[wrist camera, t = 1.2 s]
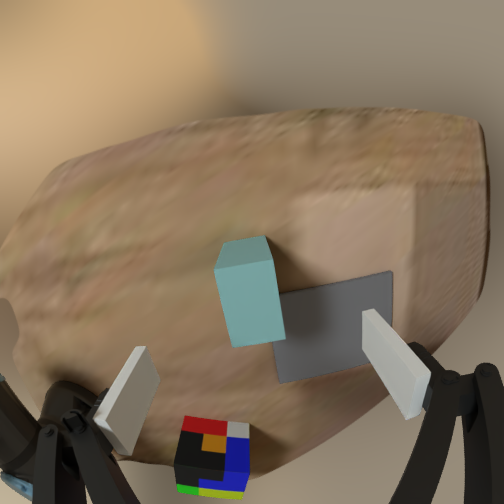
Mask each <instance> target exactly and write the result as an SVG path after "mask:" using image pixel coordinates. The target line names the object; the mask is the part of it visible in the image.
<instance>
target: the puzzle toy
mask: <svg viewBox="0 0 504 504" xmlns="http://www.w3.org/2000/svg"><path fill="white" fill-rule="evenodd" d="M174 470H175V477H176V484H177V490H178V492H181V493H186V494H193V495H200V496H207V497H215V498H226V499H240V500H241V499H242V497H243V494H244V491H245V487H246V484H247V481H248V478H249V475H250V446H249V423H239V422H228V421H219V420H211V419H204V418H197V417H191V416H185V417H184V421H183V425H182V430H181V434H180V438H179V443H178V447H177V451H176V456H175V460H174Z"/></svg>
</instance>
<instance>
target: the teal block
mask: <svg viewBox="0 0 504 504" xmlns="http://www.w3.org/2000/svg"><path fill="white" fill-rule="evenodd" d="M214 274H215V278H216V282H217V287H218V291H219V295H220V299H221V303H222V308H223V312H224V316H225V320H226V324H227V328H228V332H229V336H230V340H231V343H232V347H233V348H234V347H241V346H248V345H254V344H260V343H266V342H272V341H278V340H283V339H286V337H285V331H284V324H283V318H282V311H281V305H280V299H279V292H278V286H277V280H276V274H275V268H274V262H273V258H272V255H271V252H270V249H269V246H268V243H267V240H266V237H265V235H264V236H258V237H253V238H247V239H242V240H236V241H231V242H225V243H224V244H223V247H222V249H221V252H220V255H219V257H218V260H217V262H216V265H215V268H214Z"/></svg>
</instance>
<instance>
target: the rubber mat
mask: <svg viewBox="0 0 504 504" xmlns="http://www.w3.org/2000/svg"><path fill="white" fill-rule="evenodd" d="M279 299H280V305H281V311H282V318H283V324H284V331H285V337H286V339H283V340H278V341H272V343H273V349H274V354H275V360H276V366H277V371H278V377H279V383H280V384H281V383H286V382H292V381H297V380H302V379H307V378H312V377H316V376H321V375H325V374H329V373H333V372H337V371H341V370H345V369H349V368H353V367H357V366H360V365H364V364H367V363H371V362H370V361H369V359H368V357H367V356H366V354H365V353H364V351H363V350H362V311H366V310H370V309H375V310H376V311H377V312H378V314H379V315H380V316H381V317H382V318H383V319H384V320H385V321H386V322H387V323H388V324H389V325H390V327H391V323H392V271H386V272H381V273H377V274H373V275H368V276H364V277H359V278H355V279H350V280H346V281H341V282H336V283H332V284H327V285H322V286H317V287H312V288H307V289H302V290H297V291H291V292H286V293H281V294H279Z"/></svg>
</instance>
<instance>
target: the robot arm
mask: <svg viewBox="0 0 504 504" xmlns="http://www.w3.org/2000/svg"><path fill="white" fill-rule="evenodd" d="M362 350H363V351H364V353H365V354H366V356H367V357H368V359H369V361H370V362H371V364H372V365H373V367H374V369H375V370H376V372H377V373H378V375H379V376H380V378H381V380H382V381H383V383H384V385H385V386H386V388H387V389H388V391H389V393H390V394H391V396H392V398H393V399H394V401H395V403H396V404H397V405H398V407H399V409H400V411H401V412H402V414H403V416H404V417H405V419H406V420H408V419H411V418H413V417H416V416H418V415H420V412H421V409H422V407H423V408H424V409H425V411H426V414H425V417H424V420H423V423H422V426H421V429H420V432H419V435H418V438H417V441H416V444H415V446H414V449H413V451H412V454H411V457H410V459H409V461H408V464H407V466H406V469H405V471H404V473H403V476H402V478H401V480H400V482H399V484H398V486H397V488H396V491H395V492H394V494H393V496H392V498H391V500H390V502H389V504H431V502H432V498H433V497H434V494H435V491H436V489H437V486H438V483H439V480H440V477H441V474H442V471H443V468H444V465H445V461H446V458H447V455H448V450H449V447H450V443H451V439H452V435H453V430H454V426H455V421H456V416H462V425H463V437H464V453H465V454H464V455H465V490H464V491H465V492H464V504H504V386H503V383H502V380H501V377H500V374H499V371H498V369H497V367H496V366H495V365H493V364H490V363H481V364H479V365H478V366H477V367H476V369H475V371H474V373H472V374H467V375H461V376H460V374H459V373H457V372H455V371H452V370H445V369H444V368H443V367H442V366H441V365H440V364H439V363H438V362H437V360H436V359H435V358H434V357H433V356H431V354H430V353H429V352H427V350H426V349H425V348H424V347H423V346H422V345H420V344H418V343H416V342H412V343H409V344H406V343H405V342H404V341H403V340H402V339H401V337H400V336H399V335H398V334H397V333H396V332H395V331H394V330H393V329H392V328H391V327H390V325H389V324H388V323H387V322H386V321H385V320H384V319H383V318H382V317H381V316H380V315H379V314H378V312H377V311H376V310H375V309H370V310H366V311H362ZM159 383H160V378H159V375H158V373H157V371H156V368H155V366H154V364H153V361H152V359H151V356H150V354H149V351H148V349H147V346H138V347H135V349H134V350H133V352H132V354H131V355H130V357H129V358H128V360H127V362H126V363H125V365H124V366H123V368H122V370H121V371H120V373H119V375H118V376H117V378H116V379H115V381H114V383H113V384H112V386H111V388H110V389H109V388H106V389H105V390H104V391H103V392H102V393H101V394H100V395H99V397H96V396H95V395H94V394H92V393H91V392H89V391H88V390H86V389H84V388H83V387H81V386H79V385H76V384H74V383H71V382H67V381H58V382H55V383H54V384H53V385H52V386H51V387H50V388H49V390H48V391H47V393H46V396H45V401H44V404H43V408H42V411H41V415H40V418H39V419H38V421H36V420H35V419H34V417H33V416H32V415H31V414H30V413H29V411H28V410H27V409H26V408H25V407H24V405H23V404H22V402H21V401H20V400H19V399H18V397H17V396H16V395H15V393H14V392H13V390H12V389H11V388H10V386H9V385H8V383H7V382H6V381H5V377H4V376H2V375H1V374H0V468H1V469H2V470H3V471H1V476H0V477H1V479H2V481H4V482H5V483H6V484H7V485H8V486H9V487H11V488H12V489H13V490H15V491H16V492H17V493H19V494H20V495H22V496H24V497H25V498H27V499H28V500H30V501H32V504H87V500H86V491H85V486H86V488H87V490H88V493H89V496H90V498H91V501H92V503H93V504H140V502H139V500H138V499H137V497H136V495H135V494H134V492H133V490H132V489H131V487H130V485H129V484H128V482H127V480H126V478H125V477H124V475H123V473H122V471H121V469H120V467H119V465H118V463H117V461H116V459H115V457H114V456H113V454H112V453H111V452H112V449H113V448H114V449H115V450H116V452H117V453H118V454H120V455H128V456H131V455H132V452H133V450H134V447H135V444H136V442H137V439H138V436H139V434H140V431H141V428H142V426H143V423H144V421H145V418H146V416H147V413H148V410H149V408H150V405H151V403H152V400H153V398H154V395H155V393H156V390H157V388H158V385H159Z"/></svg>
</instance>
